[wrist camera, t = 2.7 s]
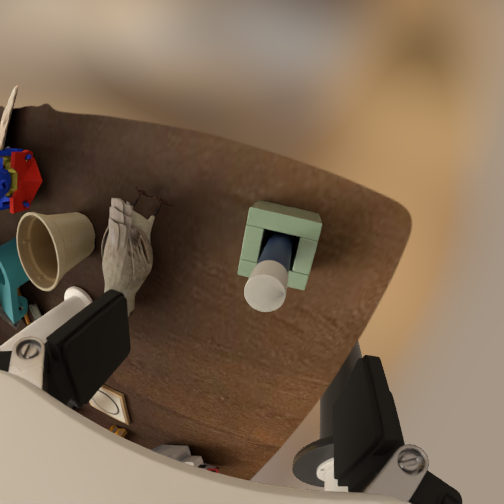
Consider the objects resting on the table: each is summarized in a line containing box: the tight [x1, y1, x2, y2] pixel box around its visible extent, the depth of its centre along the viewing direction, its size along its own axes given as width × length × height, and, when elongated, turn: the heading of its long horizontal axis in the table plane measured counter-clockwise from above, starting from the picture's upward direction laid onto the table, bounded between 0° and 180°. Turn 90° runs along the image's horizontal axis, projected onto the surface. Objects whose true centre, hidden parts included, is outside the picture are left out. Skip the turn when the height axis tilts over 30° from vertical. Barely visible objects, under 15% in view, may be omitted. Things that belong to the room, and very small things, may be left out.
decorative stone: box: [0, 86, 18, 157], centre depth 28 cm, size 8×14×2 cm, turn 171°
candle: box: [0, 286, 93, 351], centre depth 24 cm, size 7×7×25 cm
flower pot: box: [16, 212, 95, 291], centre depth 28 cm, size 9×9×9 cm
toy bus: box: [109, 425, 128, 437], centre depth 46 cm, size 3×10×4 cm
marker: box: [244, 231, 293, 312], centre depth 21 cm, size 2×2×13 cm
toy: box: [151, 445, 219, 473], centre depth 39 cm, size 12×17×15 cm
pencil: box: [17, 287, 31, 326], centre depth 39 cm, size 1×1×19 cm
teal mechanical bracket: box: [0, 238, 30, 324], centre depth 34 cm, size 7×15×8 cm
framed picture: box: [89, 384, 130, 425], centre depth 43 cm, size 10×10×1 cm
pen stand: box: [237, 200, 322, 290], centre depth 25 cm, size 6×6×5 cm
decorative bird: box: [101, 187, 175, 316], centre depth 27 cm, size 5×16×8 cm, turn 158°
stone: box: [29, 303, 42, 321], centre depth 40 cm, size 12×2×5 cm
